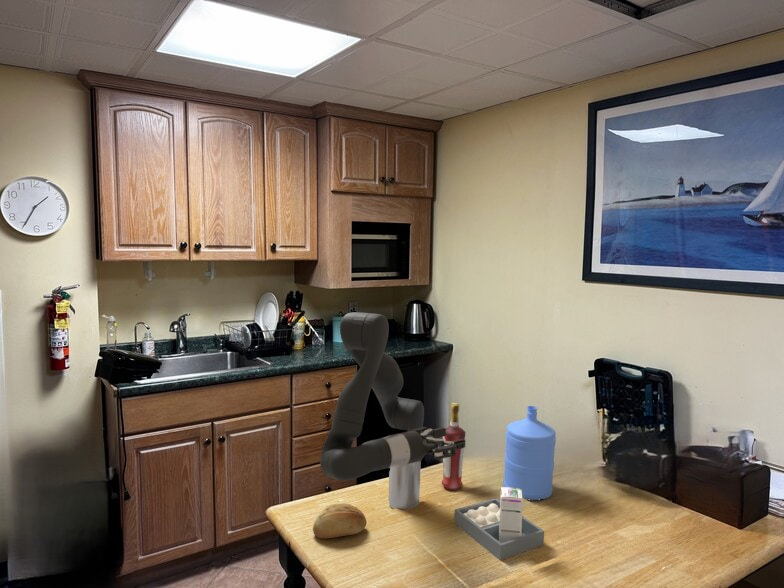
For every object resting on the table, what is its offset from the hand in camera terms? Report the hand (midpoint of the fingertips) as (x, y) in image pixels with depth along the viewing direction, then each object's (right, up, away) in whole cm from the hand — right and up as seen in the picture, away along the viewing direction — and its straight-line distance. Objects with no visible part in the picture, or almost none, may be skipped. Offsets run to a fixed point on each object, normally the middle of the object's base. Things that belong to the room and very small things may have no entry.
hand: (454, 437), depth 143 cm
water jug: (+28, -28, +38) cm, 55 cm away
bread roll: (-31, -30, +10) cm, 44 cm away
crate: (+13, -30, +10) cm, 35 cm away
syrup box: (+15, -30, +6) cm, 34 cm away
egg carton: (+11, -29, +14) cm, 34 cm away
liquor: (+4, -27, +39) cm, 47 cm away
